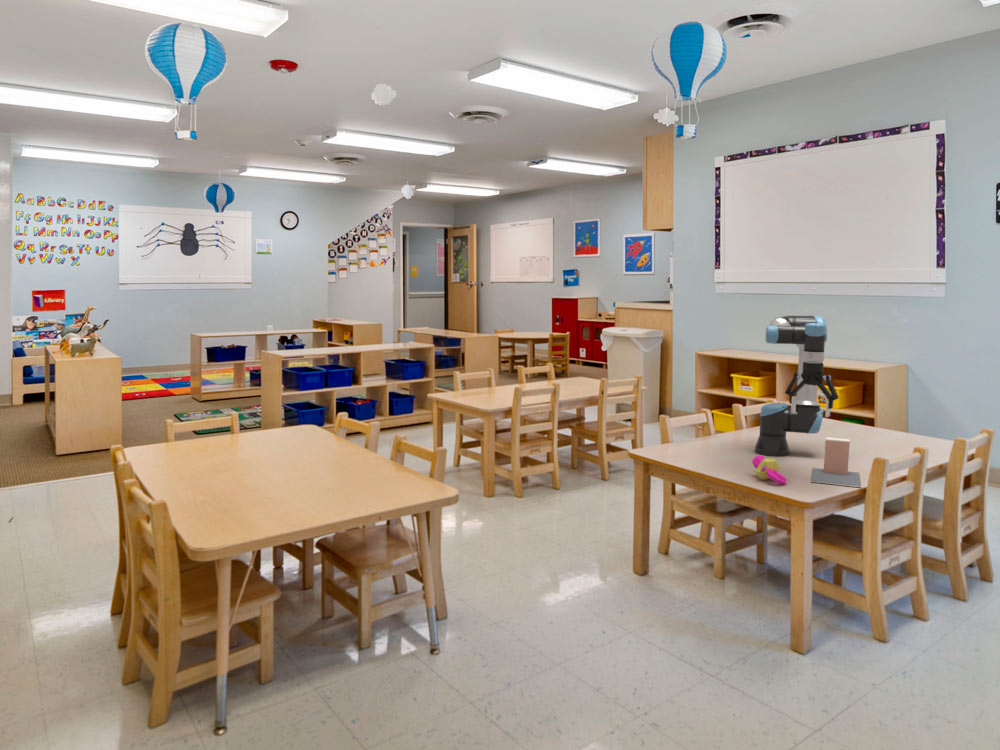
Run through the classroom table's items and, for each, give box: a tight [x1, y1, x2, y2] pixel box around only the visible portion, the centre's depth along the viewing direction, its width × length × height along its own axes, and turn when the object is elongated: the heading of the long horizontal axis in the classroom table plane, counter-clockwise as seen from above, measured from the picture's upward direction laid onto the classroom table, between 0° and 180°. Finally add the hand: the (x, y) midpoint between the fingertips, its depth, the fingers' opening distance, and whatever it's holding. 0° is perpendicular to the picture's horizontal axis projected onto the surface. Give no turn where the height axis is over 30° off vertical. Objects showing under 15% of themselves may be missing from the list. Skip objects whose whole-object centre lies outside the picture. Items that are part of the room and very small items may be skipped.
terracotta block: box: [823, 436, 851, 474], centre depth 292 cm, size 4×9×14 cm, turn 65°
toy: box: [751, 455, 787, 485], centre depth 284 cm, size 10×18×10 cm
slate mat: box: [810, 467, 862, 489], centre depth 286 cm, size 22×18×1 cm
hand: (810, 414), depth 282 cm, fingers open, 13 cm apart
